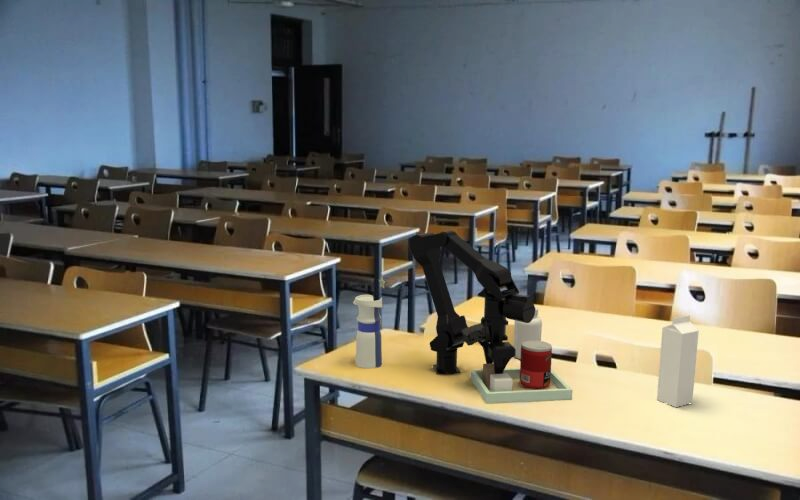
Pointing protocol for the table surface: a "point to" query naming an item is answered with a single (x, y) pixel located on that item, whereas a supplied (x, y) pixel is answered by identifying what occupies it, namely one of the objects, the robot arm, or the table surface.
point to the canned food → (535, 364)
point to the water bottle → (369, 331)
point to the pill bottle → (527, 332)
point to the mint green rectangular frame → (521, 396)
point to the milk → (677, 362)
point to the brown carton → (488, 374)
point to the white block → (500, 382)
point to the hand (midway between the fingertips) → (493, 372)
